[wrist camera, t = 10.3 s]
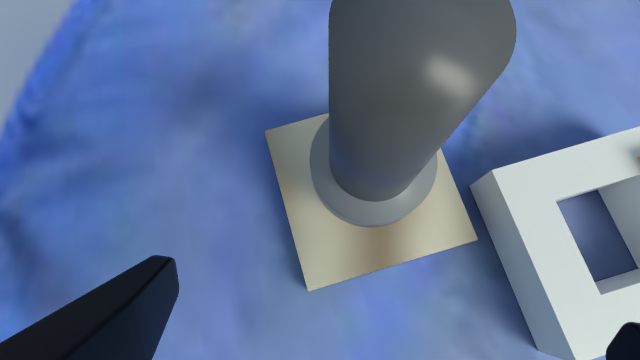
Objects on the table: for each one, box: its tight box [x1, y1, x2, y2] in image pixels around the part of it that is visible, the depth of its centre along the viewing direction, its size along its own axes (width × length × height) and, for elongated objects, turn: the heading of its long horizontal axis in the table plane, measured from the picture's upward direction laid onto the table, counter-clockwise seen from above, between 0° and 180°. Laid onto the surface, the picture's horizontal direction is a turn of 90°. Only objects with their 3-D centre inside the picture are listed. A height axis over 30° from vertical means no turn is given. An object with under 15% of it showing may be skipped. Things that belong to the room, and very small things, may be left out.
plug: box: [309, 0, 516, 228], centre depth 13 cm, size 5×5×13 cm
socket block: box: [470, 126, 640, 360], centre depth 18 cm, size 9×9×4 cm
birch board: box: [265, 113, 478, 291], centre depth 20 cm, size 9×9×1 cm
